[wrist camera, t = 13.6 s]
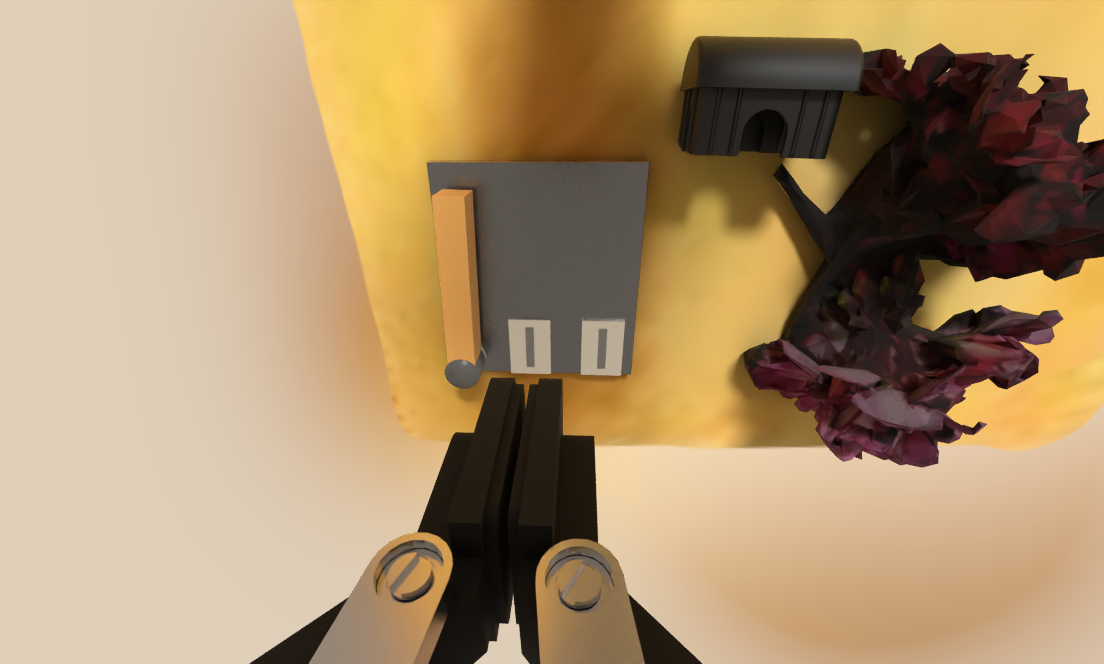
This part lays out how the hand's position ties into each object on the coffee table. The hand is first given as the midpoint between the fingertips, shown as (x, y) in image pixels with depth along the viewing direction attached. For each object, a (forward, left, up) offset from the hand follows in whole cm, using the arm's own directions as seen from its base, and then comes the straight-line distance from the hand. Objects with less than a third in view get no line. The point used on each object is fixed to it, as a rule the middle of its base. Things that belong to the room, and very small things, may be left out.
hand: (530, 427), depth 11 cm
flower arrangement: (+6, +27, -31) cm, 41 cm away
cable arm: (+8, -9, -29) cm, 31 cm away
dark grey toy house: (-7, +14, -31) cm, 35 cm away
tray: (+7, -2, -31) cm, 32 cm away
